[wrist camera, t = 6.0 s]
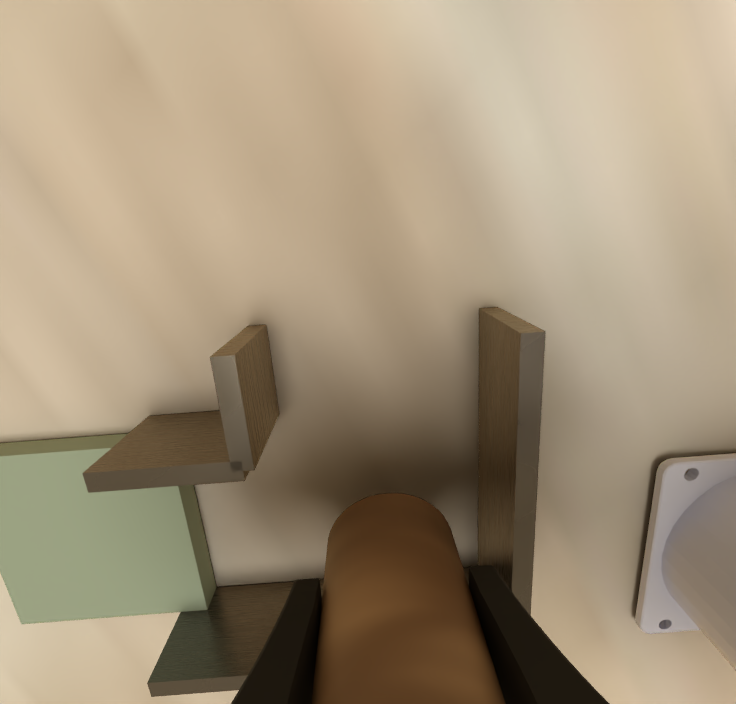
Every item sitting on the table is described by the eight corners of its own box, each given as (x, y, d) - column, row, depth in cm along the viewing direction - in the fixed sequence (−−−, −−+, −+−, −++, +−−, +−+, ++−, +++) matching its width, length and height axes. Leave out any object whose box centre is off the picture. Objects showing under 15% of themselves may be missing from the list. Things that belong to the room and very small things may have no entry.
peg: (452, 488, 12) (611, 916, 5) (454, 592, 13) (583, 1077, 6) (321, 498, 12) (257, 944, 5) (333, 601, 13) (300, 1100, 6)
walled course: (497, 306, 13) (545, 331, 10) (492, 578, 16) (527, 667, 13) (128, 335, 13) (49, 369, 10) (194, 601, 16) (151, 696, 13)
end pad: (181, 429, 14) (168, 443, 13) (216, 587, 16) (207, 610, 15) (-19, 444, 14) (-46, 459, 13) (41, 600, 16) (21, 624, 15)
